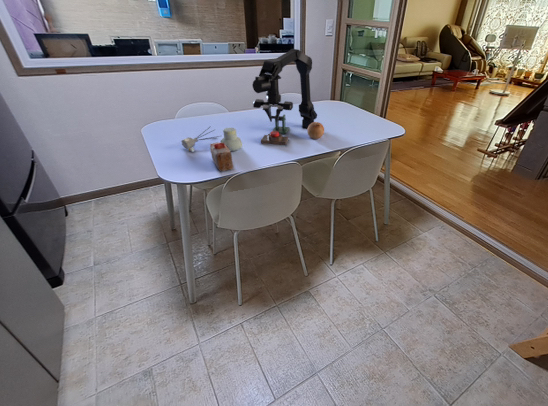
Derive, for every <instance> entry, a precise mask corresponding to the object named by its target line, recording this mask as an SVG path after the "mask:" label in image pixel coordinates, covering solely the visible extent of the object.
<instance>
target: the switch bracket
mask: <svg viewBox="0 0 548 406" xmlns="http://www.w3.org/2000/svg"><path fill="white" fill-rule="evenodd" d="M274 116H276V114H275V115H274ZM281 116H282V121H281V125H282V126H280V125H279V123H280V121H278V122H276V119H274V124H275V125H274V128H273V129H272V131H277V132H279V133H280V134H281V135H287V134H288V132H289V130H290V127H289V126H287V125H286V121H287V120H286V119H287V118H286V114H282V115H281Z"/></svg>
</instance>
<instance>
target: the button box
mask: <svg viewBox="0 0 548 406" xmlns="http://www.w3.org/2000/svg"><path fill="white" fill-rule="evenodd" d="M289 139H290V138H289V136H283V134H280V133H279V136H278V137H272V136H271V135H270V133H267V134H264V135H263V136H262V138H261V139H260V144H261V145H275V146H287V144H288V142H289Z"/></svg>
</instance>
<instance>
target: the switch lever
mask: <svg viewBox="0 0 548 406" xmlns="http://www.w3.org/2000/svg"><path fill="white" fill-rule="evenodd" d="M271 116H272V120H273V119H274V120H275V119H276V116H275V115H271ZM282 116H283V115H281V116H280V115H279V118H278V121H279V122H282Z"/></svg>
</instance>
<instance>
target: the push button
mask: <svg viewBox="0 0 548 406" xmlns="http://www.w3.org/2000/svg"><path fill="white" fill-rule="evenodd" d="M269 134H270V135H271V136H272V137H278V136H279V132H277V131H273V130H272V131H270V132H269Z"/></svg>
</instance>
